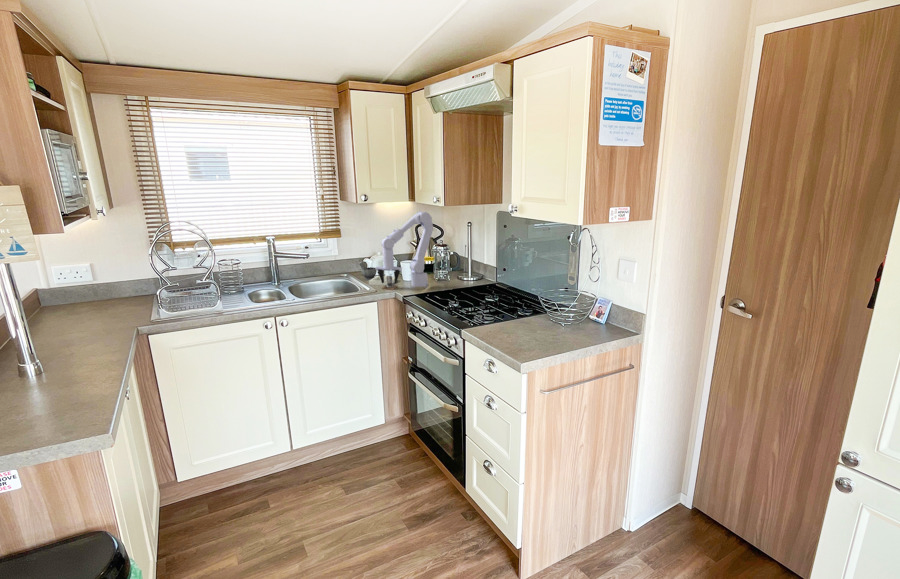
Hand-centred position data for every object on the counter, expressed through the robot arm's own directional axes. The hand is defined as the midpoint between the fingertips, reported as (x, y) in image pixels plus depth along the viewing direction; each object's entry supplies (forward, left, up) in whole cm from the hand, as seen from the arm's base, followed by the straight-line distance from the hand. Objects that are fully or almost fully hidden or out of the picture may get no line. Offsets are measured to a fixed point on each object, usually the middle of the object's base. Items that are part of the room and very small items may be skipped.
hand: (389, 283), depth 252 cm
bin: (+9, -14, -4) cm, 17 cm away
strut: (0, 0, -3) cm, 3 cm away
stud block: (0, 0, -4) cm, 4 cm away
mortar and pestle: (+24, -27, -5) cm, 36 cm away
